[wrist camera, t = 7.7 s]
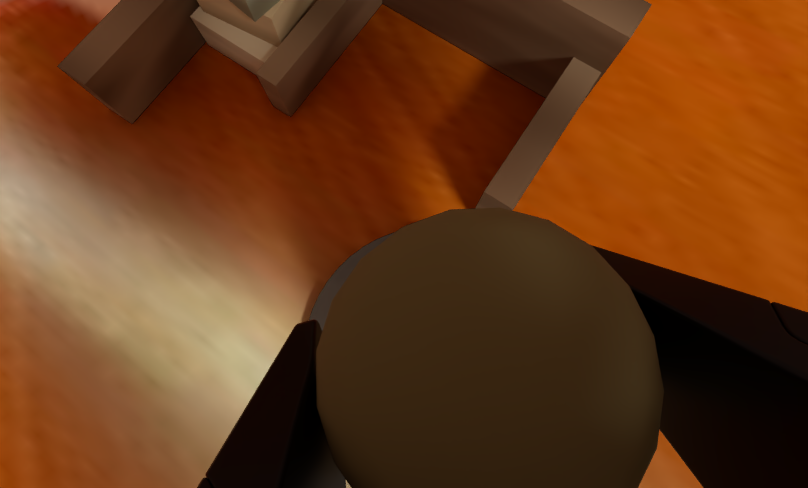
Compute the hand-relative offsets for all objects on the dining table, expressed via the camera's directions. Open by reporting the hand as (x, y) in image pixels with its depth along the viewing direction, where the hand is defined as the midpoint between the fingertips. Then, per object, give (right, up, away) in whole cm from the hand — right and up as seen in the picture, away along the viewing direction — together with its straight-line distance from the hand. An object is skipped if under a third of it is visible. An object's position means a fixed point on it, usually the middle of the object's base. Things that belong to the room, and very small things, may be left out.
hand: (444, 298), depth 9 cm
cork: (0, -3, +7) cm, 8 cm away
